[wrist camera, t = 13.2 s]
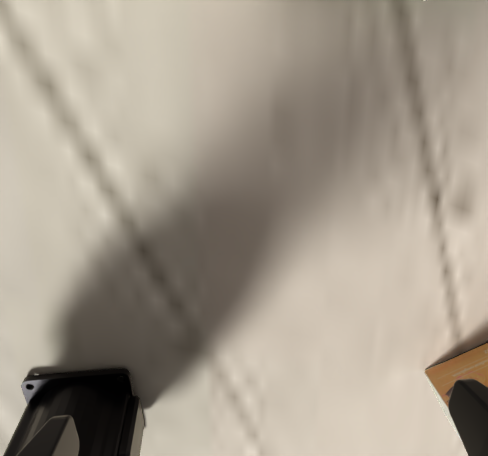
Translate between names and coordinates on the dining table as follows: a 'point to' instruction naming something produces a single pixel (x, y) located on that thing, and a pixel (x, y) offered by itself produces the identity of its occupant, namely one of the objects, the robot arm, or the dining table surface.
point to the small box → (457, 375)
